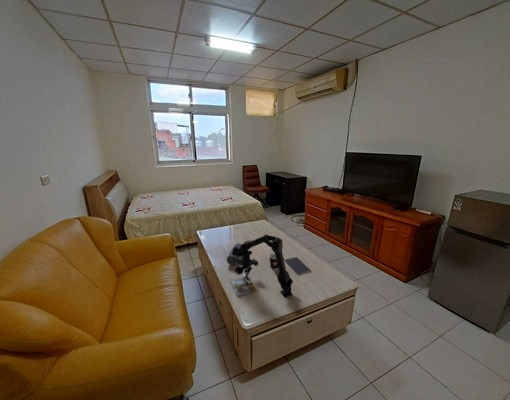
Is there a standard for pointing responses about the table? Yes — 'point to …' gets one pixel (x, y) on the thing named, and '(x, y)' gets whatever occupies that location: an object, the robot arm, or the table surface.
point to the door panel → (242, 287)
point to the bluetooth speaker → (231, 258)
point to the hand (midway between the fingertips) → (246, 276)
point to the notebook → (297, 265)
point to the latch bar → (246, 279)
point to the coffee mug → (273, 261)
